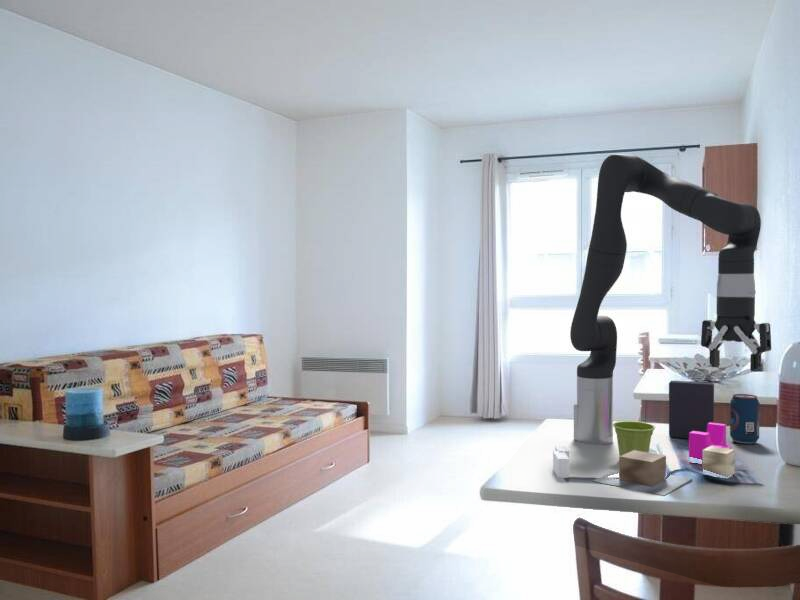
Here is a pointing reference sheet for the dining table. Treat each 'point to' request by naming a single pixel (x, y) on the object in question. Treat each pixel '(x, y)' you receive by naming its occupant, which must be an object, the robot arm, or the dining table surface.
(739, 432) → the soda can
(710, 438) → the toy block
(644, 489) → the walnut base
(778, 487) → the dining table surface
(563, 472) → the napkin holder
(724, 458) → the maple brick
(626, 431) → the plant pot
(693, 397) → the dark grey box
